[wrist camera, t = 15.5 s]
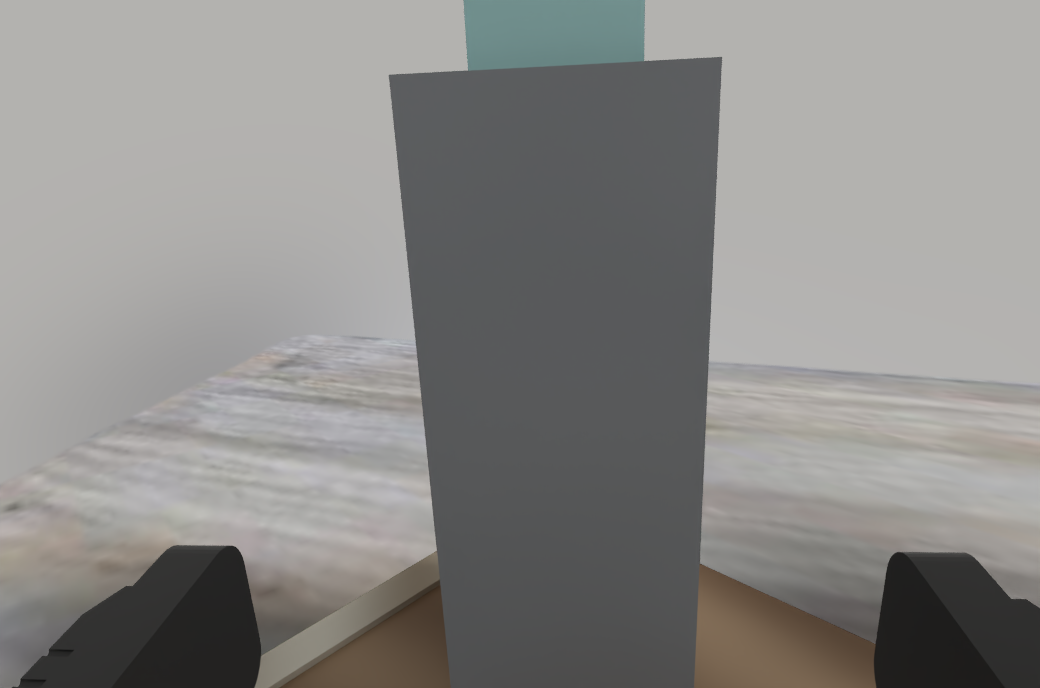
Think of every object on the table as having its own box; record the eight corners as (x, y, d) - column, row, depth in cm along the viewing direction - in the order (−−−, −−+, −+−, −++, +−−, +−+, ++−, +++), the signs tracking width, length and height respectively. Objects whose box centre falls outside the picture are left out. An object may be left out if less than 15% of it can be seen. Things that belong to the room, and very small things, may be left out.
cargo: (642, 157, 12) (644, -34, 11) (474, 164, 12) (462, -22, 12) (628, 146, 15) (629, -7, 14) (491, 152, 15) (482, 2, 14)
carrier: (689, 783, 15) (721, 56, 10) (459, 778, 15) (389, 74, 11) (655, 596, 21) (666, 73, 16) (488, 595, 21) (450, 84, 16)
